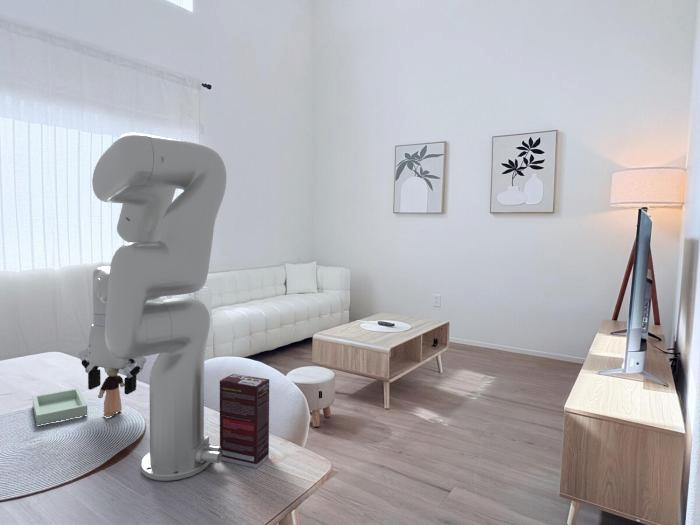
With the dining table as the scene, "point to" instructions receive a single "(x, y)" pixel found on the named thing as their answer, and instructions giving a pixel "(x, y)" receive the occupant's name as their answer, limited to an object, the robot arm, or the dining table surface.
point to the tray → (59, 406)
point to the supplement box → (244, 420)
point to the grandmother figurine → (111, 392)
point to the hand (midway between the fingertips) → (112, 389)
